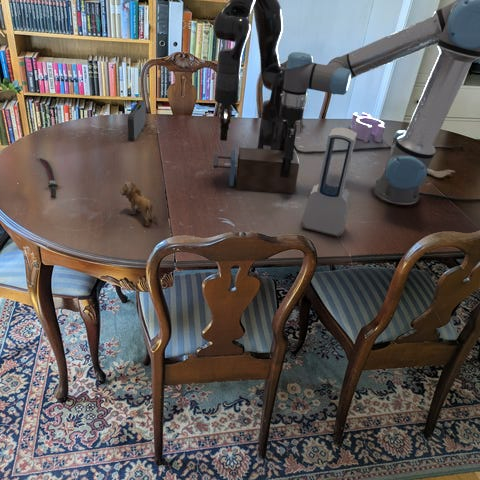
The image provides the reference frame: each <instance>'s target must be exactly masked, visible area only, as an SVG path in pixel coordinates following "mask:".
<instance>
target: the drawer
mask: <svg viewBox="0 0 480 480" xmlns="http://www.w3.org/2000/svg"><path fill="white" fill-rule="evenodd" d="M230 152H231V153H230V156H225V155H218V154H214V156H213V169H215V170H217V169H220V168H221V169H229V173H228V175H229V187H230V186H231V187H233V186H234V180H235V171H236V175H237V181H238V170H239V158H238V157H237V164H238V168H237V167H236V150H235V149H231V151H230ZM219 159H226V160H230V164H229V165H223V164H222V165H219Z"/></svg>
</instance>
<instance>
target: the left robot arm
mask: <svg viewBox="0 0 480 480" xmlns="http://www.w3.org/2000/svg"><path fill="white" fill-rule="evenodd" d="M252 11H253V16H254V24H255V30H256V35H257V42H258V44H257V45H258V50H259V58H260V59H259V60H260V77H261V79H260V80H261V82H262V83H261V84H262V85H263V87H264V88H265V89H266V90H268V91H270V98H269V99H266V100H263V102H262V105H261V114H260V123H259V131H258V138H257V139H258V140H257V148H256V149H267V150H279V147H280V146H281V145H280V140H279V139H280V135H281V130H282V125H283V118H281V117H280V115H279V113H280V106H281V105H282V103H281V100H282V97H281V96H280V94H283V86H284V78H285V68H286V67H284V66H281V64H280V60H279V51H278V50H279V44H280V40H281V38H282V35H283V31H284V22H283V12H282V7H281V4H280V2H279V1H278V0H229V1H228V2H227V3H226V4H225V5H224V6H223V8H222V9H221V10H220V11H219V12H218V14H217V15H216V17H215V19H214V22H213V25H212V31H213V35H214V36H215V38H216V39H218V40H220V41H225V42H232V43H234V46H233V47H232V48H223V49H221V50H219V51H218V54H217V66H216V67H217V68H216V73H215V74H216V75H215V85H214V86H215V87H214V101H215V102H216V103H218V104H221V105H219V123H220V125H219V129H220V136H219V140H220V142H221V141H222V142H227V140H228V131H229V129H230V124H231V119H232V115H233V106H231V105H236V104H238V103H239V101H240V99H239V98H240V89H241V69H242V59H243V54H244V50H245V47H246V45H247V41H248V39H249V36H250V34H251V22H250V20H249V17H250V15H251V14H252ZM458 146H460V144H458ZM391 147H392V145H389V146H388V145H387V146H372V147H371V146H370V147H358V148H357V147H356V148H353V152H359V151H372V150H384V149H385V150H386V149H391ZM434 148H435V149H444V150H445V149H446V150H447V149H449V150H451V149H457V148H458V147H453V146H443V147H434ZM459 148H460V149H461V150H464V146H462V147H459ZM325 151H326V150H311V151H302V150H299V149H298V148H297V146H296V145H295V144H294V152H296V153H298V154H305V155H310V154H325ZM344 152H345V153H346V152H347V148H345V149H333V150H332V153H344Z"/></svg>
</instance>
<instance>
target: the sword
mask: <svg viewBox="0 0 480 480" xmlns="http://www.w3.org/2000/svg"><path fill="white" fill-rule="evenodd" d="M40 161H41V162H42V163H43V165H44V166H45V169H46V173H47V176H48V185H47V188H50V198H56V197H57V189H56V188H57V187H59V185H58V184H57V183H56V180H55V176H54V172H53V169H52V167H51V164H50V163H49V161H48V160H46V159H43V158H40Z"/></svg>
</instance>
